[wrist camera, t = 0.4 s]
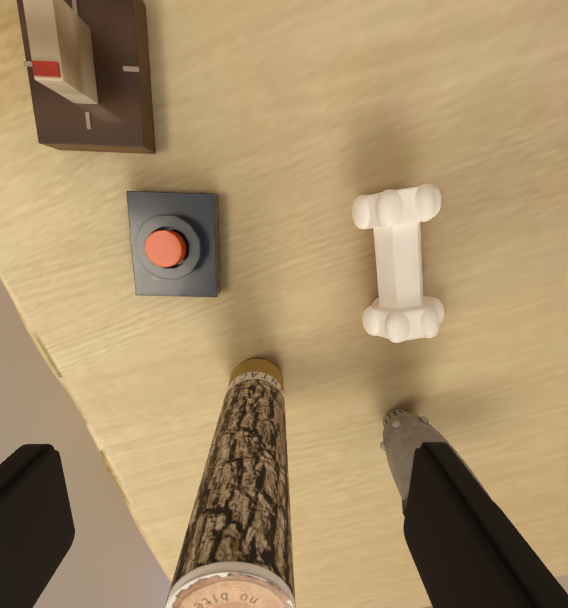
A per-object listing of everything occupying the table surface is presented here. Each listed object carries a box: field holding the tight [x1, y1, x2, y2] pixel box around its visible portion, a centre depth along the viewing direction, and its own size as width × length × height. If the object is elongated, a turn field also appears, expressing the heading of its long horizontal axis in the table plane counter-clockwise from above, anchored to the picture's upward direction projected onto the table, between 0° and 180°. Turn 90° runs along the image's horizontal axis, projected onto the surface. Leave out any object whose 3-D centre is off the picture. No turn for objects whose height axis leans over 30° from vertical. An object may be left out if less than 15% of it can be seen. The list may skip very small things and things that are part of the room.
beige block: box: [23, 0, 98, 104], centre depth 26 cm, size 6×2×5 cm, turn 178°
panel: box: [17, 0, 155, 154], centre depth 30 cm, size 13×10×3 cm
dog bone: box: [352, 183, 444, 343], centre depth 33 cm, size 15×9×8 cm, turn 9°
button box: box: [127, 191, 220, 297], centre depth 33 cm, size 11×9×4 cm
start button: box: [145, 230, 187, 267], centre depth 31 cm, size 4×4×2 cm
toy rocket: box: [380, 409, 490, 516], centre depth 30 cm, size 8×8×25 cm
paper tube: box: [166, 359, 295, 608], centre depth 28 cm, size 7×7×25 cm
